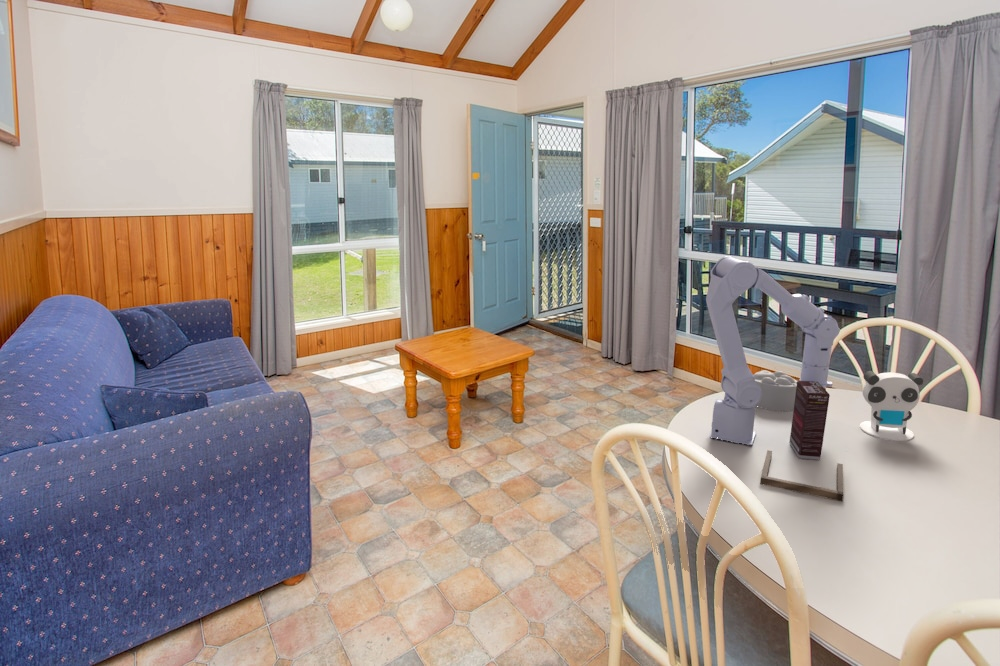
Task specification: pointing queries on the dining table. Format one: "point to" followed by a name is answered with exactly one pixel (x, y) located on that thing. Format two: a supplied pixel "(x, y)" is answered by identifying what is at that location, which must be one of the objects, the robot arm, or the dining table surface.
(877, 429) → the panda figurine
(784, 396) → the lumpy-topped squat cylinder
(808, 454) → the supplement box
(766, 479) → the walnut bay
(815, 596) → the dining table surface
